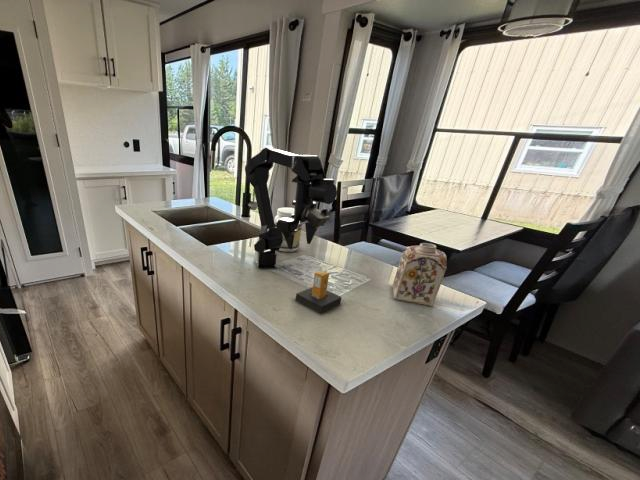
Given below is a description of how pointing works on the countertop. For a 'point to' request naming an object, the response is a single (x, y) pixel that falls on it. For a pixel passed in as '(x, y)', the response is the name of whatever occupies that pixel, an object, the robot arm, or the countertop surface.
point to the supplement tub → (284, 247)
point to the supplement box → (320, 284)
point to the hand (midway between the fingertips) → (299, 246)
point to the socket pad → (318, 300)
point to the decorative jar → (419, 274)
